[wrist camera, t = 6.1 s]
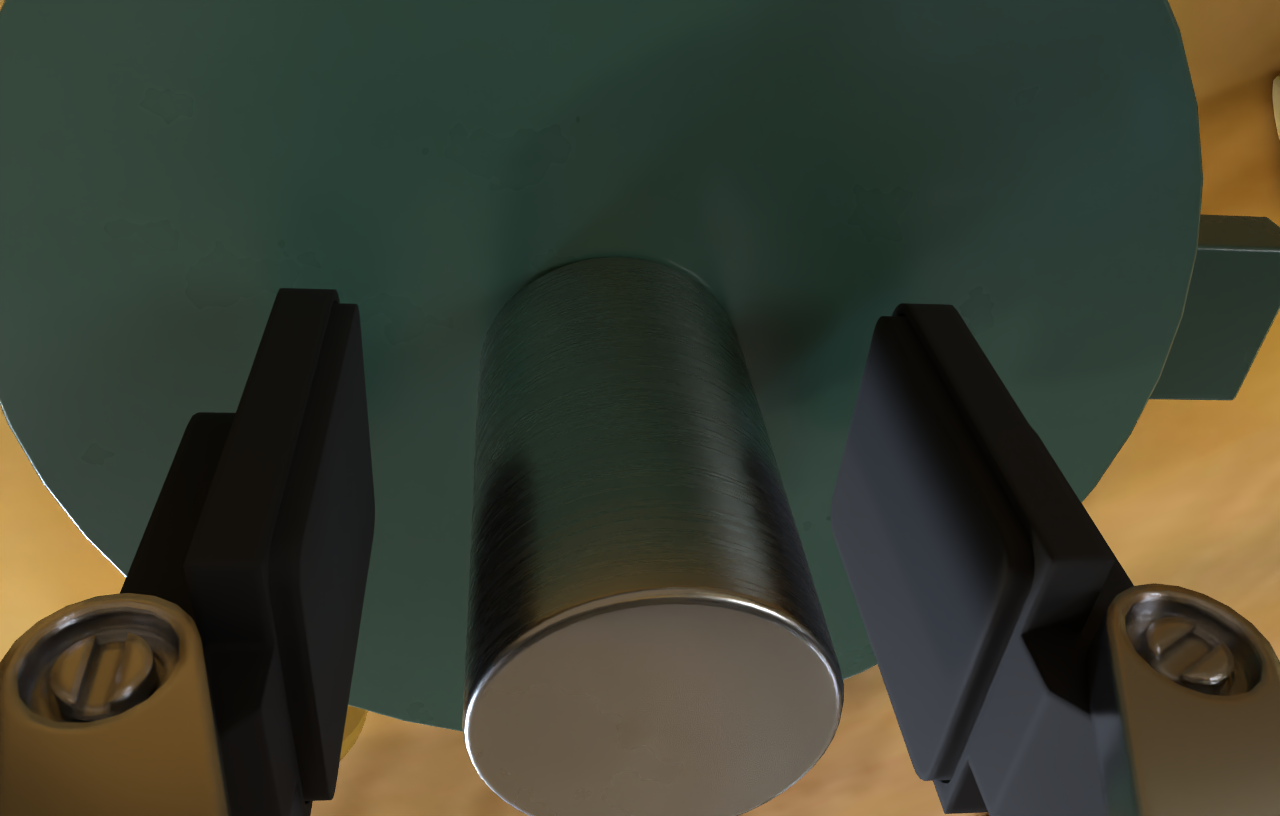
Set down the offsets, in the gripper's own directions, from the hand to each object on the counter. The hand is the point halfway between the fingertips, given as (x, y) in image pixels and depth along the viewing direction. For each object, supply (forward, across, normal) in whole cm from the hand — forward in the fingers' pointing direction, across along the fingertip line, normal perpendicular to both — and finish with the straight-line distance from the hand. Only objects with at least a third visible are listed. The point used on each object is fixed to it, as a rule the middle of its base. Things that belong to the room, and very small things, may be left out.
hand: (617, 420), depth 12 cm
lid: (+1, 0, 0) cm, 1 cm away
